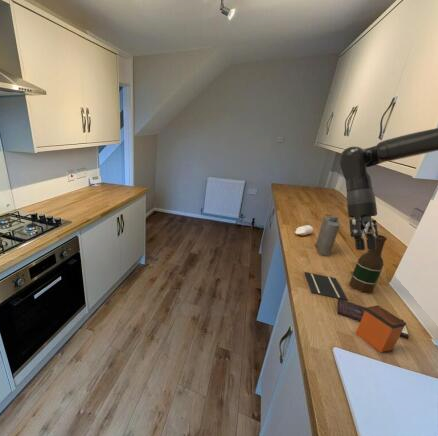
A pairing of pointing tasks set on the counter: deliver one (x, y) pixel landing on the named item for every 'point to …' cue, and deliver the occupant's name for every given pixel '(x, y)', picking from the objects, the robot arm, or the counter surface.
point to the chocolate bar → (358, 313)
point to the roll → (304, 230)
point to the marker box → (380, 328)
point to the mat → (325, 286)
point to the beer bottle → (368, 268)
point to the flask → (327, 235)
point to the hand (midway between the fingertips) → (366, 249)
